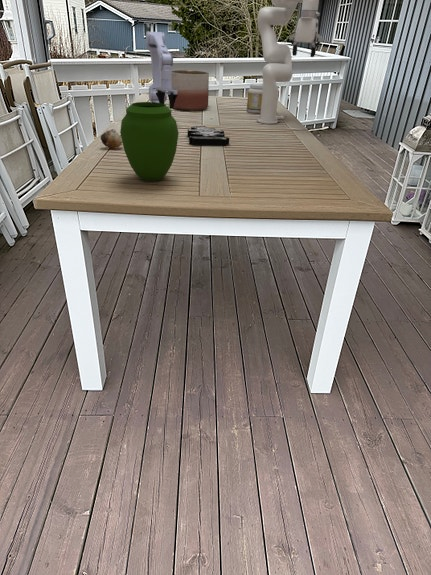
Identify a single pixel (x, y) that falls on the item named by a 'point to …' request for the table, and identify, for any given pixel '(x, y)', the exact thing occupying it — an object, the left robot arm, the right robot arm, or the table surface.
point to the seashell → (111, 139)
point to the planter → (190, 90)
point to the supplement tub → (254, 98)
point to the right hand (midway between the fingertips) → (303, 56)
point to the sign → (207, 136)
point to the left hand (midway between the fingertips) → (166, 107)
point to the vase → (149, 139)
